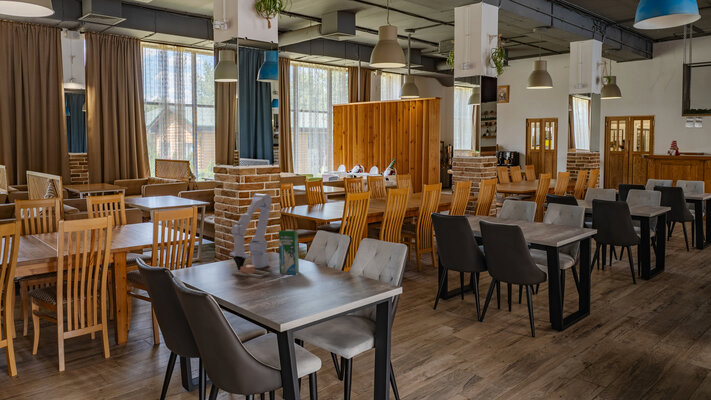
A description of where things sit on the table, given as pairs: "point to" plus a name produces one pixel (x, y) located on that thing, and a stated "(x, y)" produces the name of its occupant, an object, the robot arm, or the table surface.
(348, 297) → the table surface
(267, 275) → the chute
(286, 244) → the milk carton
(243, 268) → the block
